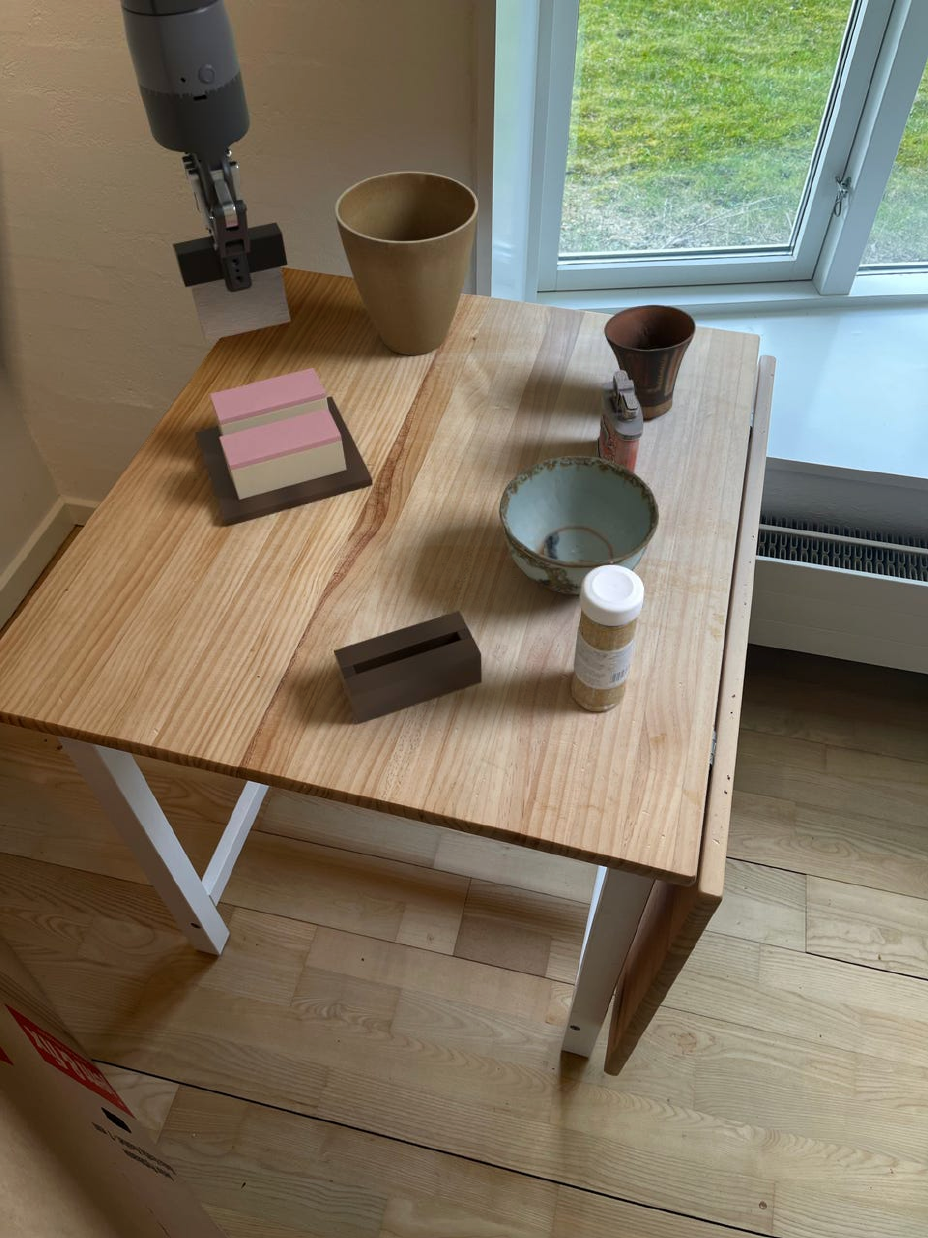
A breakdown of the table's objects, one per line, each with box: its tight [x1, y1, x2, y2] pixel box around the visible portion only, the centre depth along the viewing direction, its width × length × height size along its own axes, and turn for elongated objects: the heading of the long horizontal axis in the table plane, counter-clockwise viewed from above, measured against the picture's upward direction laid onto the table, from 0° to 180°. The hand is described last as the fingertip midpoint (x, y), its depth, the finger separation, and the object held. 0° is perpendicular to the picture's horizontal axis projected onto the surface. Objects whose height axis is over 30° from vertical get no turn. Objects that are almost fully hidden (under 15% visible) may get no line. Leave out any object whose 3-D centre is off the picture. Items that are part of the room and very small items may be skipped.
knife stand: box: [333, 610, 483, 725], centre depth 78 cm, size 11×5×4 cm, turn 112°
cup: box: [603, 304, 697, 419], centre depth 98 cm, size 9×9×10 cm
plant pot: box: [334, 171, 479, 356], centre depth 104 cm, size 15×15×16 cm
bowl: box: [498, 455, 660, 595], centre depth 84 cm, size 14×13×8 cm
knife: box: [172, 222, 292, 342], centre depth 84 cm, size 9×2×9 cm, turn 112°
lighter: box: [595, 369, 644, 474], centre depth 92 cm, size 8×3×10 cm, turn 6°
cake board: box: [194, 395, 373, 527], centre depth 97 cm, size 15×14×1 cm
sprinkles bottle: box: [570, 565, 645, 712], centre depth 74 cm, size 5×5×13 cm
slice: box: [209, 367, 328, 436], centre depth 98 cm, size 11×4×4 cm, turn 112°
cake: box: [219, 408, 346, 500], centre depth 93 cm, size 11×4×4 cm, turn 112°
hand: (236, 280), depth 83 cm, fingers closed on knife, 2 cm apart
